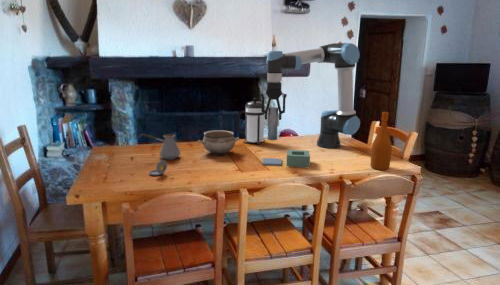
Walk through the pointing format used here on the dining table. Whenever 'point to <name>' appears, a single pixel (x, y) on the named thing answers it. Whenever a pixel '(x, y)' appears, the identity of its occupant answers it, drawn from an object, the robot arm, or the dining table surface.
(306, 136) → the dining table surface
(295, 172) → the dining table surface
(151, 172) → the pocket watch
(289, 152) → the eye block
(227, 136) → the cooking pot
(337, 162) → the dining table surface
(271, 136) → the metal peg
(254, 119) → the coffee press
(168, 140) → the coffee pot
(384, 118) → the wine bottle
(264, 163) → the slate mat
